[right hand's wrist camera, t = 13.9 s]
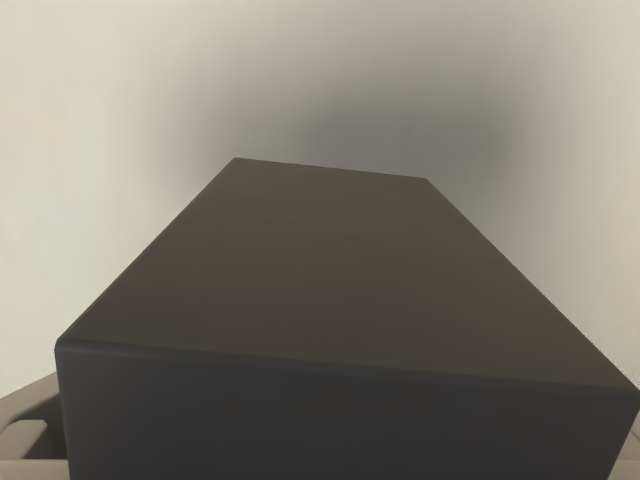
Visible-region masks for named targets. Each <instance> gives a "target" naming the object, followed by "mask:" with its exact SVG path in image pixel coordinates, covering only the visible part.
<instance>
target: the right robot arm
mask: <svg viewBox="0 0 640 480" xmlns="http://www.w3.org/2000/svg"><path fill="white" fill-rule="evenodd" d="M0 480H70V476H69V468H68V460H67V451H66V443H65V435H64V426H63V418H62V410H61V402H60V393H59V385H58V377H57V371H56V372H54V373H52V374H50V375H48V376H46V377H44V378H42V379H40V380H38V381H36V382H34V383H32V384H30V385H28V386H26V387H24V388H22V389H20V390H17V391H15V392H13V393H11V394H9V395H7V396H5V397H3V398H1V399H0ZM608 480H640V410H639V412H638V414H637V417H636V419H635V421H634V423H633V425H632V427H631V430H630V432H629V434H628V436H627V438H626V441H625V443H624V445H623V447H622V449H621V451H620V454H619V456H618V458H617V460H616V462H615V464H614V467H613V469H612V471H611V473H610V475H609V478H608Z"/></svg>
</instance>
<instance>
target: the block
mask: <svg viewBox="0 0 640 480" xmlns="http://www.w3.org/2000/svg"><path fill="white" fill-rule="evenodd" d="M54 352H55V360H56V368H57V377H58V385H59V393H60V402H61V410H62V418H63V426H64V435H65V443H66V451H67V460H68V468H69V476H70V480H608V478H609V475H610V473H611V471H612V469H613V467H614V464H615V462H616V460H617V458H618V456H619V454H620V451H621V449H622V447H623V445H624V443H625V441H626V438H627V436H628V434H629V432H630V430H631V427H632V425H633V423H634V421H635V419H636V417H637V414H638V412H639V410H640V390H639V389H638V388H637V387H636V386H635V385H634V384H633V383H632V382H631V381H630V380H629V379H628V378H627V377H626V376H625V375H624V374H623V373H622V372H621V371H620V370H619V369H618V368H617V367H616V366H615V365H614V364H613V363H612V362H611V361H610V360H609V359H608V358H606V357H605V356H604V355H603V354H602V353H601V352H600V351H599V350H598V349H597V348H596V347H595V346H594V345H593V344H592V343H591V342H590V341H589V340H588V339H587V338H586V337H585V336H584V335H583V334H582V333H581V332H580V331H579V330H578V329H577V328H576V327H575V326H574V325H573V324H572V323H571V322H570V321H569V320H568V319H567V318H566V317H565V316H564V315H563V314H562V313H561V312H560V311H559V310H558V309H557V308H556V307H555V306H554V305H553V304H552V303H551V302H550V301H549V300H548V299H547V298H546V297H545V296H544V295H543V294H542V293H541V292H540V291H539V290H538V289H537V288H536V287H535V286H534V285H533V284H532V283H531V282H530V281H529V280H528V279H527V278H526V277H525V276H524V275H523V274H522V273H521V272H520V271H519V270H518V269H517V268H516V267H515V266H514V265H513V264H512V263H511V262H510V261H509V260H508V259H507V258H506V257H505V256H504V255H503V254H502V253H501V252H500V251H499V250H498V249H497V248H496V247H495V246H494V245H493V244H491V243H490V242H489V241H488V240H487V239H486V238H485V237H484V236H483V235H482V234H481V233H480V232H479V231H478V230H477V229H476V228H475V227H474V226H473V225H472V224H471V223H470V222H469V221H468V220H467V219H466V218H465V217H464V216H463V215H462V214H461V213H460V212H459V211H458V210H457V209H456V208H455V207H454V206H453V205H452V204H451V203H450V202H449V201H448V200H447V199H446V198H445V197H444V196H443V195H442V194H441V193H440V192H439V191H438V190H437V189H436V188H435V187H434V186H433V185H432V184H431V183H430V182H429V181H428V180H427V179H425V178H417V177H408V176H399V175H390V174H381V173H372V172H362V171H353V170H344V169H335V168H326V167H317V166H307V165H298V164H289V163H280V162H271V161H262V160H253V159H243V158H233V160H232V161H231V162H230V163H229V164H228V165H227V166H226V167H225V168H224V169H223V170H222V171H221V172H220V173H219V174H218V175H217V176H216V177H215V178H214V179H213V180H212V181H211V182H210V183H209V184H208V185H207V186H206V187H205V188H204V189H203V190H202V191H201V192H200V193H199V194H198V195H197V196H196V197H195V199H194V200H193V201H192V202H191V203H190V204H189V205H188V206H187V207H186V208H185V209H184V210H183V211H182V212H181V213H180V214H179V215H178V216H177V217H176V218H175V219H174V220H173V221H172V222H171V223H170V224H169V225H168V226H167V227H166V228H165V229H164V230H163V231H162V232H161V233H160V234H159V235H158V236H157V238H156V239H155V240H154V241H153V242H152V243H151V244H150V245H149V246H148V247H147V248H146V249H145V250H144V251H143V252H142V253H141V254H140V255H139V256H138V257H137V258H136V259H135V260H134V261H133V262H132V263H131V264H130V265H129V266H128V267H127V268H126V269H125V270H124V271H123V272H122V273H121V274H120V275H119V277H118V278H117V279H116V280H115V281H114V282H113V283H112V284H111V285H110V286H109V287H108V288H107V289H106V290H105V291H104V292H103V293H102V294H101V295H100V296H99V297H98V298H97V299H96V300H95V301H94V302H93V303H92V304H91V305H90V306H89V307H88V308H87V309H86V310H85V311H84V312H83V313H82V314H81V316H80V317H79V318H78V319H77V320H76V321H75V322H74V323H73V324H72V325H71V326H70V327H69V328H68V329H67V330H66V331H65V332H64V333H63V334H62V335H61V336H60V337H59V338H58V339H57V342H56V344H55V348H54Z"/></svg>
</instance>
